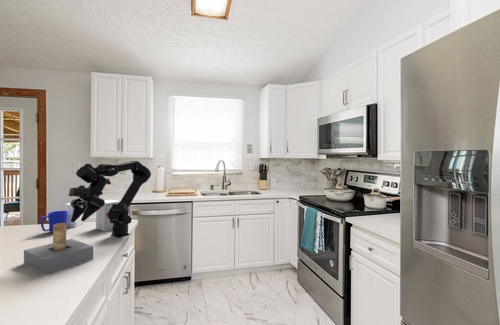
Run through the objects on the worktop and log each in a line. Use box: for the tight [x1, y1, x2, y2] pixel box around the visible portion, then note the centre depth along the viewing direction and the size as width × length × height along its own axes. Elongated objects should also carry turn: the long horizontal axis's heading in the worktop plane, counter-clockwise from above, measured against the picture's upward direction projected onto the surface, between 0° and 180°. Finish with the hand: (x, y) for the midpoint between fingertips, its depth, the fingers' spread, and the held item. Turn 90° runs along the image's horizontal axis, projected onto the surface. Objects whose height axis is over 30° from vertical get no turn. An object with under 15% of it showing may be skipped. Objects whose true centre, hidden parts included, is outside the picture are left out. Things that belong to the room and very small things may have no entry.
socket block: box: [23, 238, 94, 275], centre depth 99 cm, size 16×16×5 cm
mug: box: [40, 210, 68, 234], centre depth 133 cm, size 8×12×10 cm
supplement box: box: [95, 199, 121, 232], centre depth 144 cm, size 9×9×15 cm
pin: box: [52, 223, 67, 252], centre depth 98 cm, size 4×4×13 cm
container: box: [64, 201, 84, 228], centre depth 147 cm, size 8×8×13 cm
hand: (76, 221), depth 109 cm, fingers open, 9 cm apart
